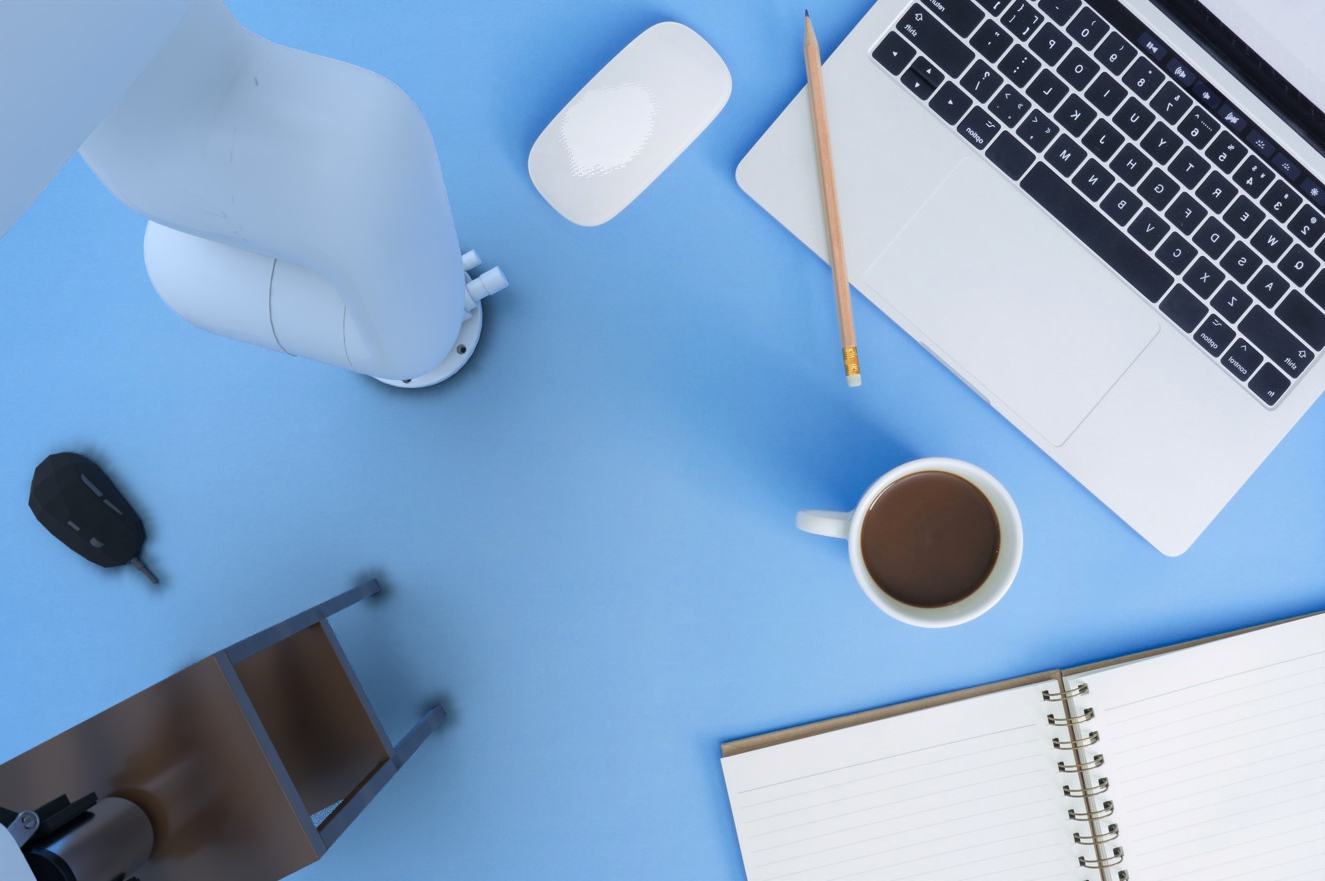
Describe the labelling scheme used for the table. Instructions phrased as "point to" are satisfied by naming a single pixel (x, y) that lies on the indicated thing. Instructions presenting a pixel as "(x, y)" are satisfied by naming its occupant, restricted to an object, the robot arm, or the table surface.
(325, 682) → the rack frame
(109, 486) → the gaming mouse
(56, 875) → the steel tin
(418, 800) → the table surface
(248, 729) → the top shelf
